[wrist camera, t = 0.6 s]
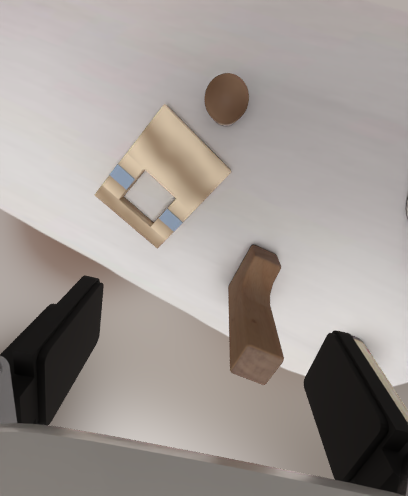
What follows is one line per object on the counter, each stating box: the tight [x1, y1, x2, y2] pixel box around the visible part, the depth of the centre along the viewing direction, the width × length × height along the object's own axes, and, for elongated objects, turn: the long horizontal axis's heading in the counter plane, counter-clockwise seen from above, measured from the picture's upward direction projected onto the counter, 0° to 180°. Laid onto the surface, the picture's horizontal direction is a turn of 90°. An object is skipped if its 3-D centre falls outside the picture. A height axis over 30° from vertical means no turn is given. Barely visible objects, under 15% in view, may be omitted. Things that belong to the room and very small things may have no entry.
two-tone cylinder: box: [205, 73, 249, 126], centre depth 30 cm, size 4×4×12 cm
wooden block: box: [228, 245, 284, 385], centre depth 36 cm, size 9×4×18 cm, turn 156°
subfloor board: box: [95, 104, 231, 249], centre depth 39 cm, size 16×12×2 cm
